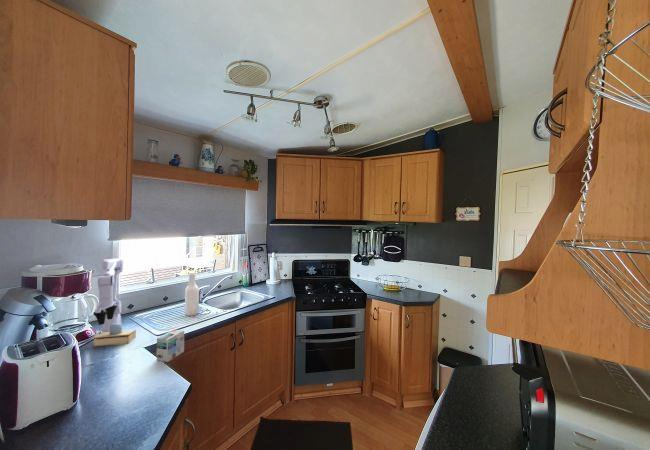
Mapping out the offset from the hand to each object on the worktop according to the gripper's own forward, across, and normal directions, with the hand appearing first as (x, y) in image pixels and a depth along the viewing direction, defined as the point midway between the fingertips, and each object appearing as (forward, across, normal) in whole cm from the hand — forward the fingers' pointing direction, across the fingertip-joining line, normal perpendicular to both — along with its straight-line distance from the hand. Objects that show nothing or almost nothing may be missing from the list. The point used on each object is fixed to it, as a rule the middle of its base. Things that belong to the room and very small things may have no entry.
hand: (105, 321), depth 140 cm
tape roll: (+6, +3, +6) cm, 9 cm away
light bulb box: (+11, +26, +41) cm, 50 cm away
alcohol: (+10, -34, +35) cm, 50 cm away
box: (+10, +3, +6) cm, 12 cm away
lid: (+6, +3, +6) cm, 9 cm away
